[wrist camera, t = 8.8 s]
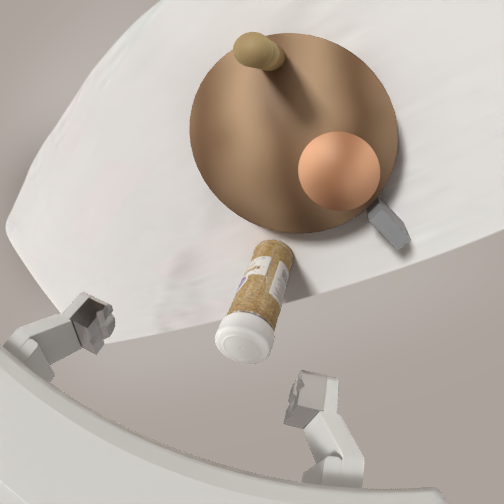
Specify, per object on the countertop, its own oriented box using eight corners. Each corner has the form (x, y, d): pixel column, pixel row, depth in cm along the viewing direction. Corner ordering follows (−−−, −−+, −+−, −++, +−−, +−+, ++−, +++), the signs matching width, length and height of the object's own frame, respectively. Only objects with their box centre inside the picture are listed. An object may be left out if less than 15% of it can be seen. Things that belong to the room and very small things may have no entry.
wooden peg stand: (372, 25, 18) (388, 1, 11) (400, 215, 26) (418, 260, 19) (177, 67, 24) (127, 68, 17) (226, 232, 32) (197, 276, 25)
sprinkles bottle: (257, 233, 32) (215, 321, 21) (298, 244, 32) (275, 339, 21) (251, 266, 35) (211, 356, 24) (289, 277, 34) (263, 372, 23)
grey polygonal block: (403, 222, 27) (410, 239, 24) (392, 232, 28) (398, 250, 25) (376, 194, 27) (381, 209, 24) (365, 205, 28) (368, 221, 25)
